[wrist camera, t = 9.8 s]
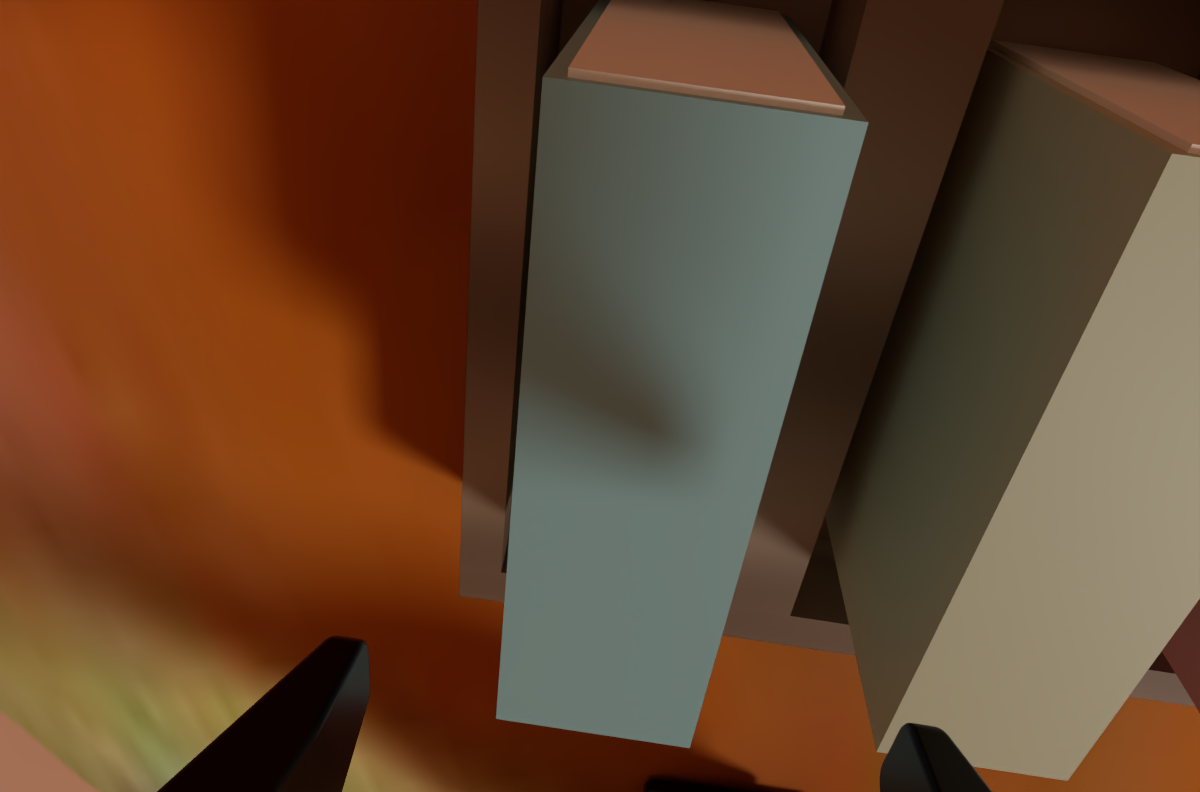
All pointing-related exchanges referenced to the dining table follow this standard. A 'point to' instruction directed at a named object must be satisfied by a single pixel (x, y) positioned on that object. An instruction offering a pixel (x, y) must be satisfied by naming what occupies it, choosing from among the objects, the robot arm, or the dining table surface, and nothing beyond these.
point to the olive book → (1034, 419)
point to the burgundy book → (1187, 654)
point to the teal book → (660, 348)
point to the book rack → (852, 280)
